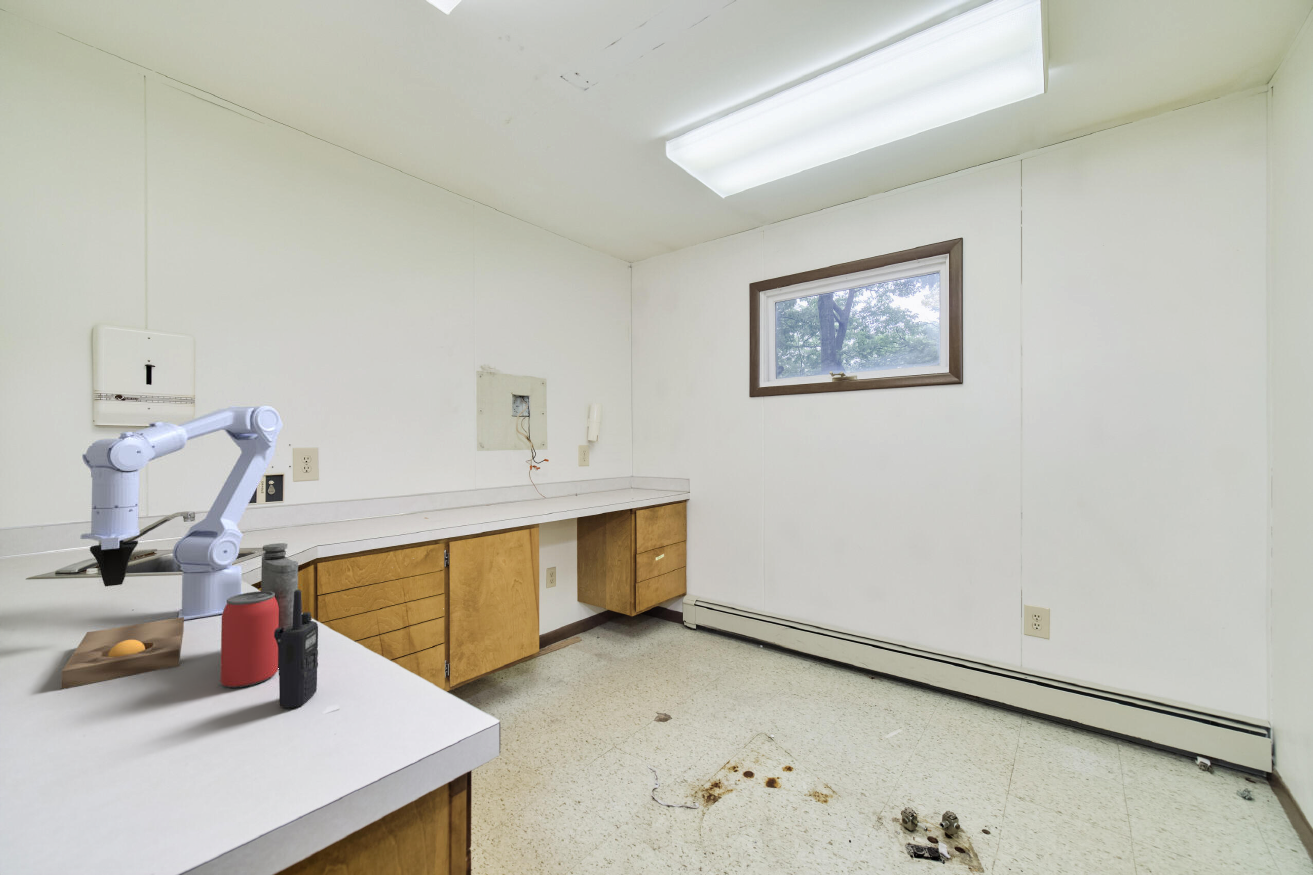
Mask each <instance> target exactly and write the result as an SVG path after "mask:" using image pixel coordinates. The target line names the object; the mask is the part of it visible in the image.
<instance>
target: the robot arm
mask: <svg viewBox="0 0 1313 875" xmlns="http://www.w3.org/2000/svg"><path fill="white" fill-rule="evenodd" d="M148 425H149V426H148V427H146V428H141V429H139V430H136V431H130V430H129V431H124V432H121V433H120V436H119V437H118V438H102V439H98V440H96V441H93V443H92V444H91V445H89V446H88V448H87V450H86V453H83V454H81V455H82V460H83V463H84V465H85V466H86V467H87V468H89V470H90V478H91V521H90V522H91V523H90V532H89V533H82V534H80V540H88V539H89V540H92V541H96V542H100V544H96V545H91V546H90V547H89V551H90V553H91V555H92V556H93V557H94V559H95V560H96V562H97V564H98V568H99V570H100V574H101V578H102V582H103V585H104V586H105V587H113V586H114V587H115V586H121V585H123V584H124V581H125V578H126V575H127V569H128V566H129V562H130V559H131V557H132V554H133V552H134V550H135V549H136V548H137V546H138V544H139V540H126V539H129V538H133V537H137V536H139V535H140V534H141V533H140V531H141V530H140V529H139V513H140V512H139V510H140V509H139V503H140V502H139V501H140V499H139V498H140V470H142V469H143V468H145V467H146V466H147V464H148V463H149V462H150V461H153V460H156V459H159V458H162V457H163V456H167V455H170V454H172V453H176V452H178V451H181V450H182V449H183V448H185V446H186V444H187V441H189V440H192V439H196V438H197V439H198V438H199V437H203V436H205V435H209V434H212V433H216V432H219V431H224V432H225V433H226V434H227V435H228V436H229V438H230V439H231V440H232V441H233V443H235V445H236V446H237V447H238V448H239V449H240V451H241V454H240V455H239V456H238V459H237V460H236V462H235V464H234V466H233V468H232V470H230V473H229V475H228V476H227V479H226V481H224V483H223V485H222V486H221V489H220V491H219V493H218V495H217V496H216V498H215V500H214V501H213V504H212V505H211V507H210V508H209V511H208V513H207V515H206V516H205V518H204V519H202V520H201V521H199V522H196V523H195V524H193V525H192V526H190V527H189V529H188V531H187V532H186V534H185V535H184V536H182V537H181V538H180V539H179V540H178V541H176V543H174V546H173V549H172V558H173V560H174V561H175V563H177V564H178V565H180V566H179V567H180V568H179V570H180V571H182V575H181V576H182V577H181V580H182V581H181V608H180V609H179V611H178V617H177V618H180V617H184V621H186V620H191V619H198V618H199V619H200V618H206V617H213V616H216V615H217V616H218V615H222V614H223V610H224V608H225V606H226V604H227V599H228V598H230V597H233V596H235V595H239V594H244V592H243V591H242V565H240V564H239V565H238V564H237V565H233V563H234V562H235V561H236V559H237V558H238V556H239V553H240V544H241V540H242V539H243V537H244V535H243V533H242V532H241V531H240V529H239V527H238V525H239V522H240V521H241V519H242V517H243V515H244V512H245V511H246V509H247V507H248V506H249V503H250V501H251V500H252V497H253V495H254V494H255V491H256V489H257V487H258V486H259V484H260V482H261V480H262V478H263V476H264V475H265V472H266V470H267V469H268V467H269V465H270V463H271V461H272V459H273V457H274V455H275V454H276V446H277V445H276V444H277V437H278V435H279V434H280V432H281V430H282V428H283V422H282V419H281V416H280V414H279V412H278V411H277V409H276V408H274V407H272V406H269V405H260V406H235V405H234V406H233V405H232V406H229V407H227V408H220V409H217V410H214V411H211V412H210V413H209V412H208V413H207V414H204V415H200V416H199V417H196V418H192V419H191V420H188V421H185V422H181V423H179V424H177V425H176V424H174V423H171V422H168V421H167V422H162V421H154V422H151V423H149V424H148ZM183 450H184V449H183ZM125 540H126V541H125Z"/></svg>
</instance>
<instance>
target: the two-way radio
mask: <svg viewBox="0 0 1313 875" xmlns="http://www.w3.org/2000/svg"><path fill="white" fill-rule="evenodd" d="M302 598H303V597H302V590H301V589H298V590H296V591H295V592H294V603H293V626H291V627H289V628H287V629H286V630H283V629H284V628H277V629H275V632H274V638H275V639H276V642H277V645H278V652H279V669H278V679H279V680H278V681H279V682H278V684H279V685H278V686H279V688H278V689H279V693H278V694H279V700H278V701H279V706H280V707H283V709H289V708H298V707H301V706H303V705H304V704H305V703H307V702H308V701H309V700H310V699H311V698H312V697H313V696H314V695H315V694H316V692H317V687H318V667H319V662H318V660H319V659H318V658H319V657H318V656H319V649H318V648H319V625H318V623H317V621H313V620H312V614H311V612H310V611H305V612H303V602H302Z"/></svg>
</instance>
